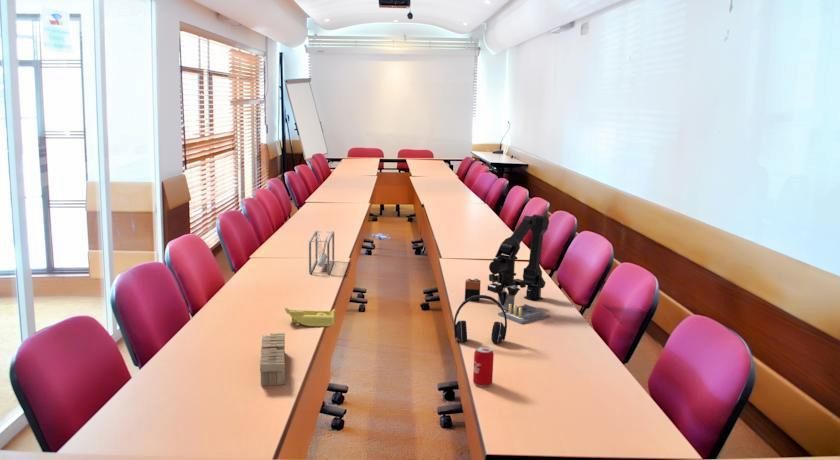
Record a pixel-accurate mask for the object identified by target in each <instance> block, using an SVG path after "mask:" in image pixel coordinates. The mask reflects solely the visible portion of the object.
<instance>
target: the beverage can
mask: <svg viewBox="0 0 840 460" xmlns="http://www.w3.org/2000/svg"><path fill="white" fill-rule="evenodd" d="M494 355H495V354H494V352H493V349H492V347H490V346H485V345H481V346H479V345H478V346H477V347H476V348H475V351H474V354H473V376H472V382H473V384H475V385H476V386H477V387H479V388H480V387H482V388H486V387H489V386H490V385H492V384H493V379H494V378H493V372H494V357H495V356H494Z"/></svg>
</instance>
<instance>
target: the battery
mask: <svg viewBox="0 0 840 460" xmlns="http://www.w3.org/2000/svg"><path fill="white" fill-rule="evenodd" d="M475 295H481V280H480V279H479V278H474V279H471V278H467V279H466V280H465V283H464V301H465V300H466V299H468V298H469V297H471V296H475ZM470 302H480V299H473V300H471V301H470Z"/></svg>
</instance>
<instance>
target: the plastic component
mask: <svg viewBox="0 0 840 460" xmlns="http://www.w3.org/2000/svg"><path fill="white" fill-rule="evenodd" d="M284 311H285V313H286V314H287V315H288V314H289V316H290V317H291V324H301V325H304V326H308V327H319V328H320V327H324V328H325V327H329V328H330V327H332V326H333V325H334V324H335V322H336V309H335V308H333V309H332V310H331V311H330V310H329V311H326V310H325V311H322V310H293V309H292V310H291V309H288V307H284Z"/></svg>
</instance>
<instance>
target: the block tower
mask: <svg viewBox="0 0 840 460" xmlns="http://www.w3.org/2000/svg"><path fill="white" fill-rule="evenodd" d="M285 334H286V333H285V332H277V333H269V334H266V335H265V334H264V335H262V337H261V348H260V363H259V372H260V386H261V387H267V386H279V385H281V386H282V385H286V362H285V361H286V360H285V355H286V352H285V351H286V350H285V349H286V348H285V347H286V346H285V344H286V343H285V341H286V340H285V339H286V337H285Z"/></svg>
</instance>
